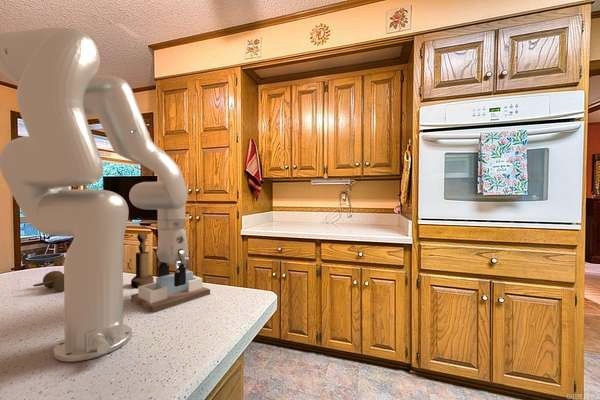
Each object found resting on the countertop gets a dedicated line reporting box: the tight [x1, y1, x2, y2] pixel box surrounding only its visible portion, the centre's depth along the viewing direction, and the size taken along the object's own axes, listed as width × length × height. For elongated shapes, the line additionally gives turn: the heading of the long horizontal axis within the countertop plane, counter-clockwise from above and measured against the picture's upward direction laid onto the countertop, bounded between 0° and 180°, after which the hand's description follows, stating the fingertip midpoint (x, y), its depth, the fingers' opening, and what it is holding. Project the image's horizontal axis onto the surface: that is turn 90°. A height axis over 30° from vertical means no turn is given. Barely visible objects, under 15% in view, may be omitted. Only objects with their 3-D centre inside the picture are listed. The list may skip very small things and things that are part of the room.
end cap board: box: [130, 286, 211, 313], centre depth 80 cm, size 14×17×2 cm
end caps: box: [137, 274, 203, 303], centre depth 80 cm, size 8×16×3 cm, turn 143°
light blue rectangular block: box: [155, 269, 194, 295], centre depth 81 cm, size 3×10×5 cm, turn 144°
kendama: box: [32, 270, 64, 293], centre depth 91 cm, size 6×10×20 cm
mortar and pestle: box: [130, 232, 155, 289], centre depth 91 cm, size 7×6×18 cm
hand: (171, 282), depth 80 cm, fingers open, 9 cm apart
